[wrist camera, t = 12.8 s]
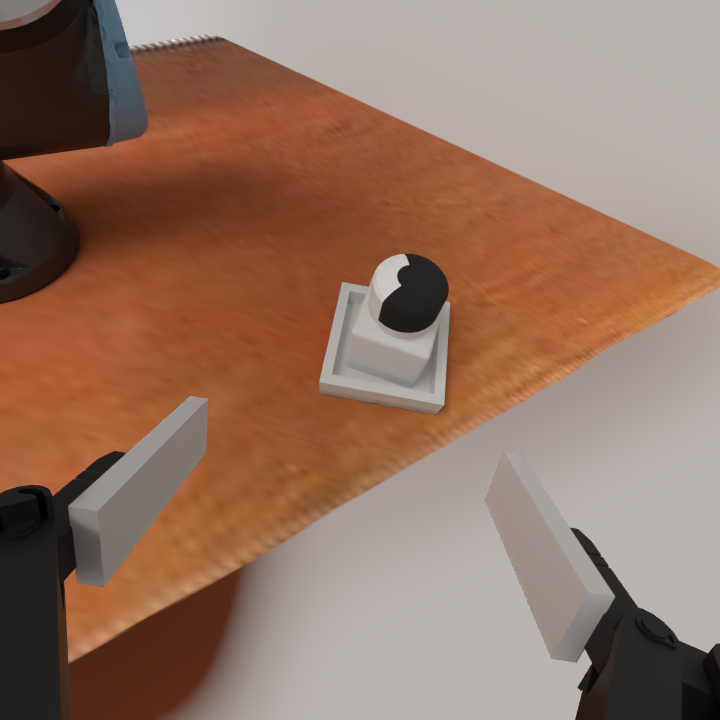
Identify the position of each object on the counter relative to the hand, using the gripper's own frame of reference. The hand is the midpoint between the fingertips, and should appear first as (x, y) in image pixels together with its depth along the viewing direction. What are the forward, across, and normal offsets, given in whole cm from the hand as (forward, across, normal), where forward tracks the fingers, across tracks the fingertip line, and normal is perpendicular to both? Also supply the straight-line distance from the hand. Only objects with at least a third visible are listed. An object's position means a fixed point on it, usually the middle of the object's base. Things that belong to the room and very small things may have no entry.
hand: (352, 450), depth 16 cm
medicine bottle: (+23, +3, -2) cm, 24 cm away
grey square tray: (+24, +3, -3) cm, 24 cm away
